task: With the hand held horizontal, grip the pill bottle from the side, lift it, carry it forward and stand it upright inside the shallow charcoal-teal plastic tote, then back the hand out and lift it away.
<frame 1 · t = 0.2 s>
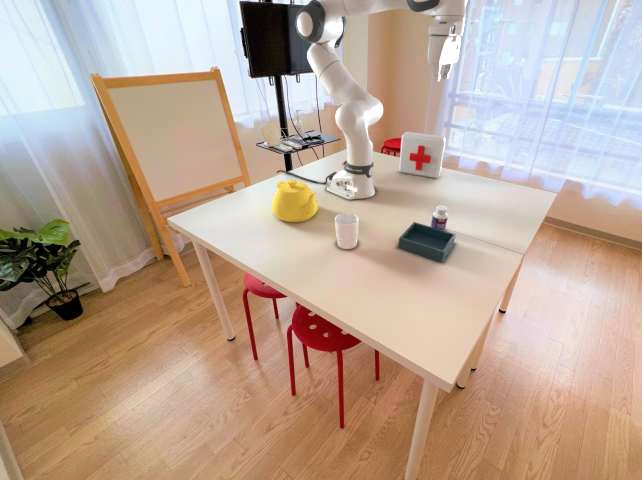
hand: (440, 80, 100), 48 cm above the table, tool pointing down, fingers open, 8 cm apart
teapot: (297, 214, 122), on the table
tote: (426, 245, 106), on the table
pill bottle: (437, 231, 114), on the table
white cup: (347, 244, 106), on the table
bevelled white case: (418, 175, 159), on the table
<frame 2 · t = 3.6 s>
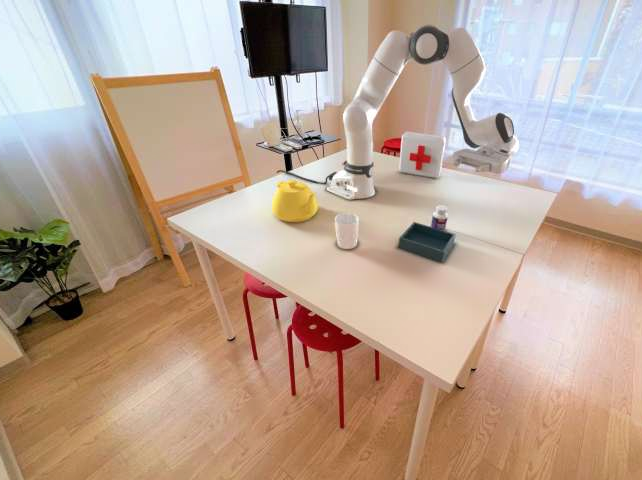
hand: (466, 166, 108), 22 cm above the table, tool horizontal, fingers open, 8 cm apart
nothing on the table moved.
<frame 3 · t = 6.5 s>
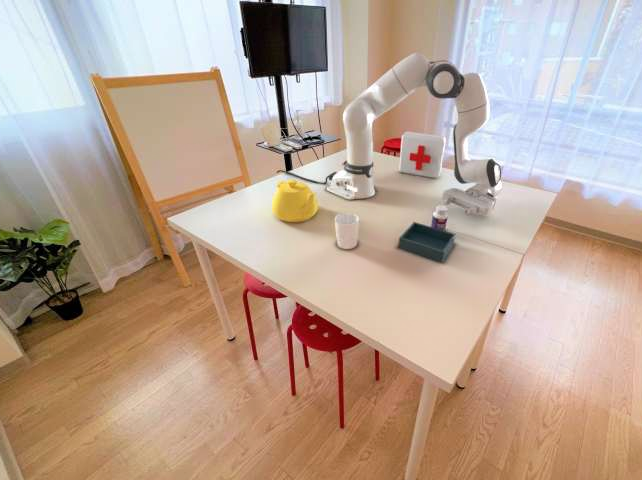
hand: (456, 207, 116), 6 cm above the table, tool horizontal, fingers open, 8 cm apart
nothing on the table moved.
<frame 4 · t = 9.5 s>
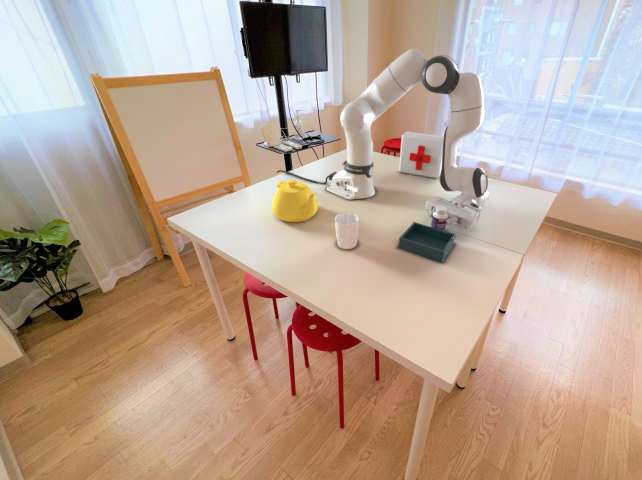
hand: (438, 218, 111), 6 cm above the table, tool horizontal, fingers closed on pill bottle, 5 cm apart
pill bottle: (437, 231, 114), on the table, touching gripper
everything else where it was.
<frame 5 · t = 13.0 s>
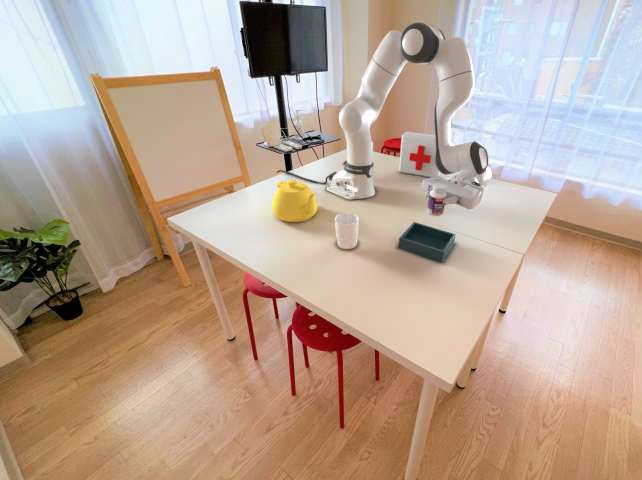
hand: (435, 198, 99), 17 cm above the table, tool horizontal, fingers closed on pill bottle, 5 cm apart
pill bottle: (434, 213, 102), point 11 cm above the table, touching gripper
everything else where it was.
when the fingers open (6 cm above the table, at t = 17.0 s): pill bottle stays where it is, resting on tote.
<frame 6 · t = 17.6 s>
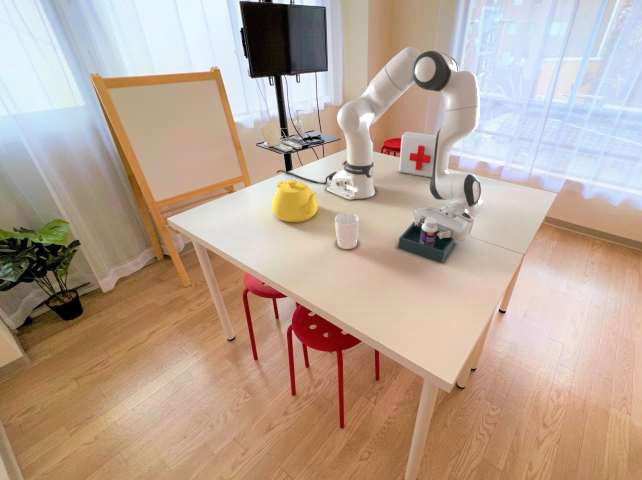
hand: (427, 230, 102), 7 cm above the table, tool horizontal, fingers open, 8 cm apart
pill bottle: (426, 244, 106), resting on tote
everything else where it was.
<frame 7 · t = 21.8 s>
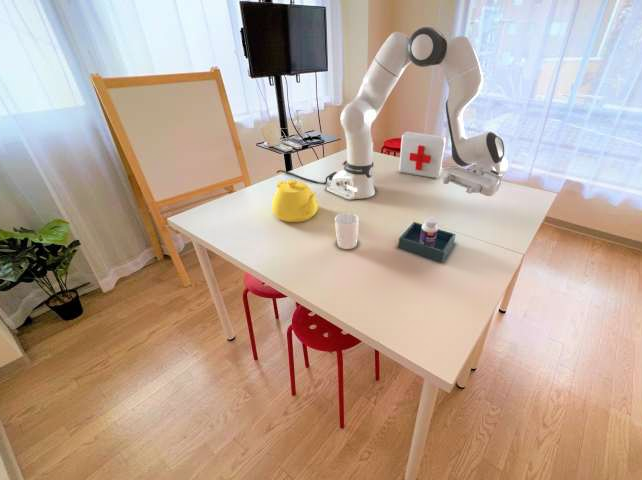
hand: (456, 186, 102), 19 cm above the table, tool horizontal, fingers open, 8 cm apart
nothing on the table moved.
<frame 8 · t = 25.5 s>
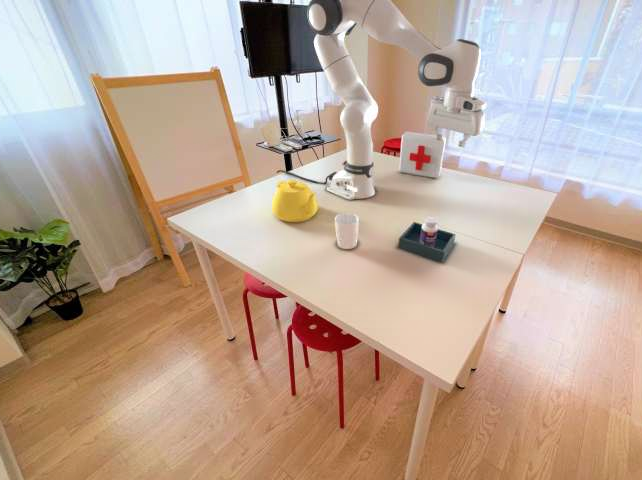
hand: (450, 143, 107), 29 cm above the table, tool pointing down, fingers open, 8 cm apart
nothing on the table moved.
at the end: pill bottle inside the target area in the tote (0.1 cm from its centre), point 0.4 cm above the tote's base; pill bottle tilted 0°; the gripper is holding nothing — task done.
